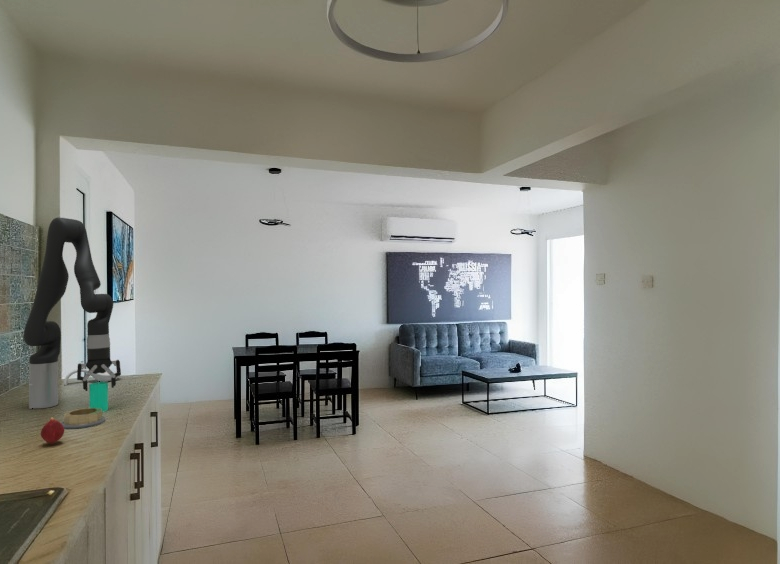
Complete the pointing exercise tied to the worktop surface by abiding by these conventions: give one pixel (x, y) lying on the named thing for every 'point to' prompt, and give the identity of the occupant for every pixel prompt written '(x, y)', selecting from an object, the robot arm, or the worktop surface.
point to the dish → (83, 424)
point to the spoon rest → (101, 376)
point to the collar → (82, 416)
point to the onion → (52, 431)
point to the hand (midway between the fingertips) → (99, 389)
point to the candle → (99, 395)
